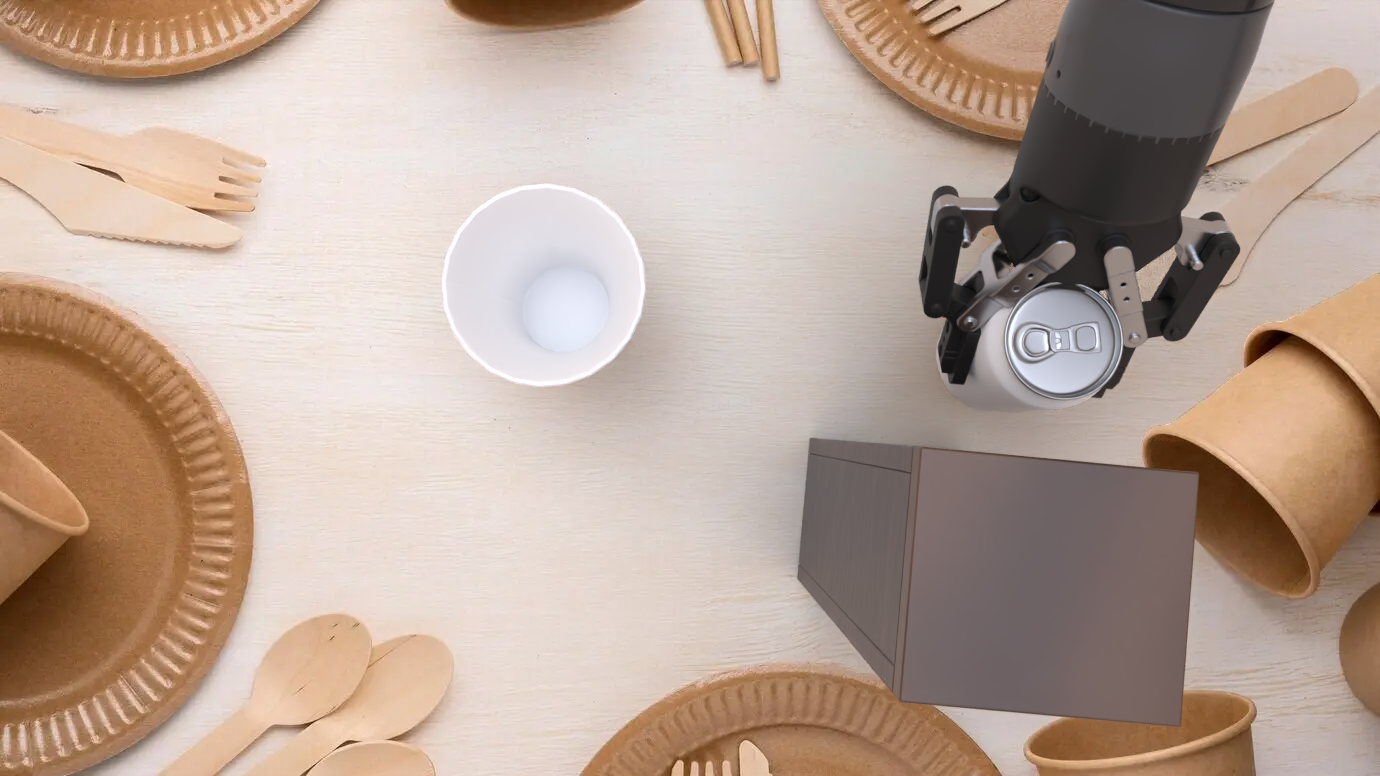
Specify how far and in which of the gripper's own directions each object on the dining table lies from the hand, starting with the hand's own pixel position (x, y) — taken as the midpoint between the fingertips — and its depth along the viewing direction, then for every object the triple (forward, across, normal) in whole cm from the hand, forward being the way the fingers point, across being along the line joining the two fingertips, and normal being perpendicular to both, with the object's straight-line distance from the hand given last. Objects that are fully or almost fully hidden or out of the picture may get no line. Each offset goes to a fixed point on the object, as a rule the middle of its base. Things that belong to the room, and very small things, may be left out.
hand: (1022, 379), depth 55 cm
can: (+3, 0, +6) cm, 7 cm away
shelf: (-6, -4, -18) cm, 19 cm away
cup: (+7, -25, +11) cm, 28 cm away
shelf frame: (+15, -4, +3) cm, 16 cm away
